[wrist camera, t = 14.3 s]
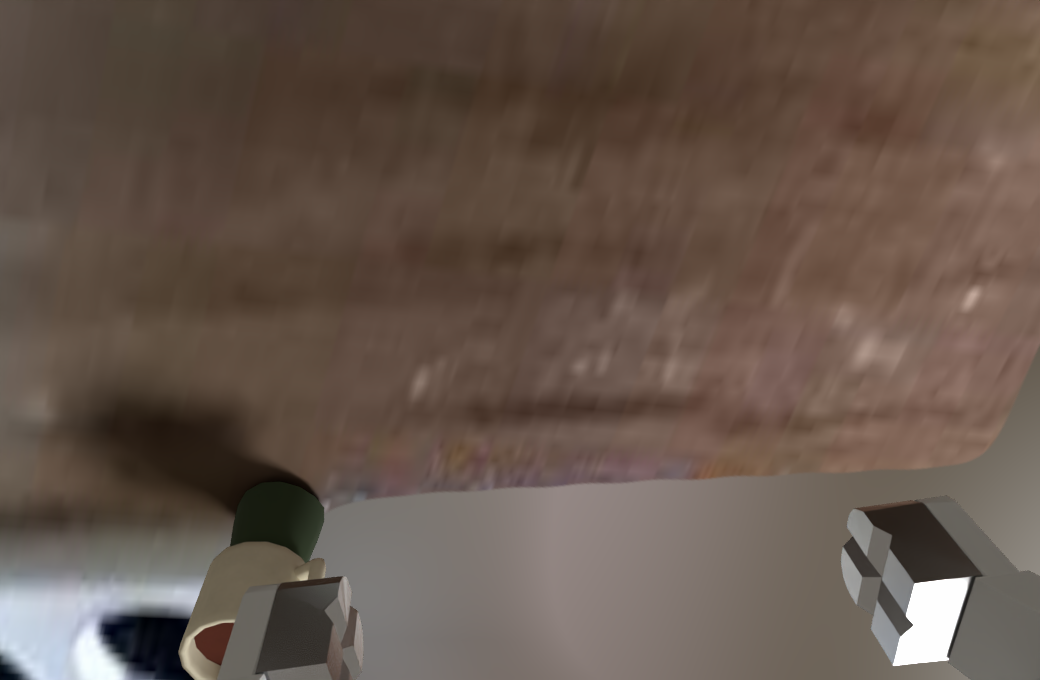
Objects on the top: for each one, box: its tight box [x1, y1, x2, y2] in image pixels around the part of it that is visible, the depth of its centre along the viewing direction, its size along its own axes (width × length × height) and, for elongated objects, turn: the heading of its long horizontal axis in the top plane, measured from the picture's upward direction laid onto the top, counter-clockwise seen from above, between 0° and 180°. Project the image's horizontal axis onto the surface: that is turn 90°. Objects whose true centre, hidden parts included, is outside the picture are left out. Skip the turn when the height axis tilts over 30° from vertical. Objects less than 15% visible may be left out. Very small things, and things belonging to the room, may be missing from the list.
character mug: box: [179, 482, 326, 680], centre depth 49 cm, size 11×7×13 cm, turn 121°
